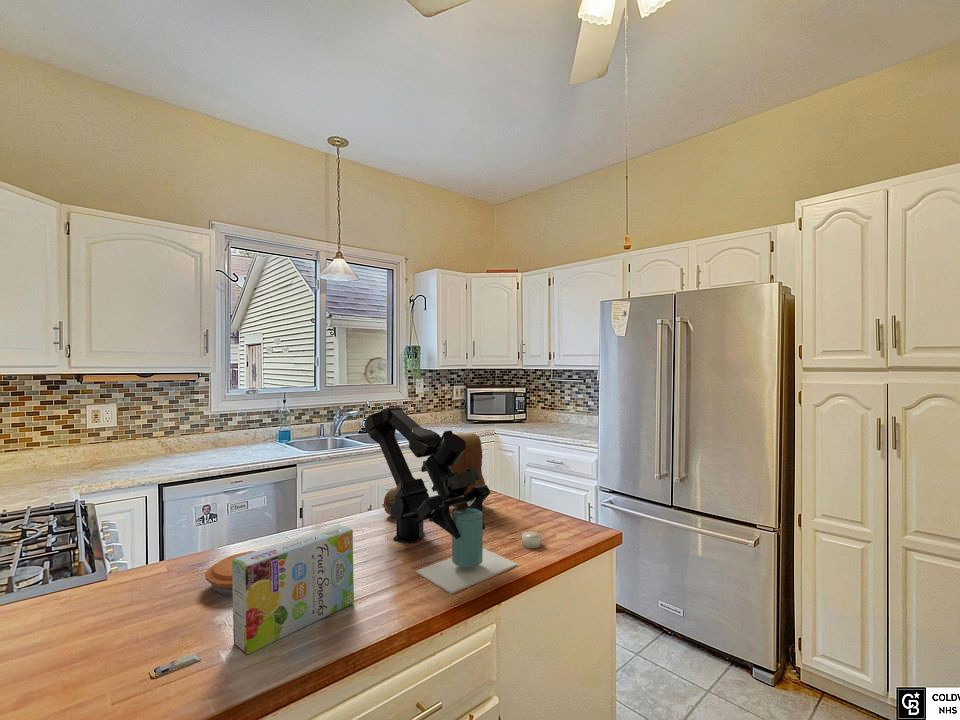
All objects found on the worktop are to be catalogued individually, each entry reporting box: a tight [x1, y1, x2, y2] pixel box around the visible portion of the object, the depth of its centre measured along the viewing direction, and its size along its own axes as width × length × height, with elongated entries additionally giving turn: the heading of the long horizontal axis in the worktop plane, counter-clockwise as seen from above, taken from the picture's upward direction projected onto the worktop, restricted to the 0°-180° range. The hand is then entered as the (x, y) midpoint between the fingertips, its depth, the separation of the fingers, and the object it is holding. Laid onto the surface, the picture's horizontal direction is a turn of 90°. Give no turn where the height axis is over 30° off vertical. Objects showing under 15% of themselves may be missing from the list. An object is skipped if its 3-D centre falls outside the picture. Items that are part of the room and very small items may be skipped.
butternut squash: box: [450, 431, 486, 509], centre depth 152 cm, size 14×13×25 cm
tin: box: [383, 487, 397, 516], centre depth 149 cm, size 15×3×8 cm, turn 143°
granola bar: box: [153, 653, 201, 676], centre depth 74 cm, size 7×2×1 cm, turn 132°
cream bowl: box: [521, 531, 542, 549], centre depth 123 cm, size 5×5×3 cm
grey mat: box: [415, 547, 519, 595], centre depth 109 cm, size 20×13×1 cm, turn 132°
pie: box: [204, 550, 256, 597], centre depth 102 cm, size 15×16×5 cm
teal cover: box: [451, 508, 484, 567], centre depth 109 cm, size 7×7×11 cm
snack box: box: [232, 524, 355, 655], centre depth 87 cm, size 21×6×15 cm, turn 141°
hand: (471, 533), depth 108 cm, fingers closed on teal cover, 7 cm apart
